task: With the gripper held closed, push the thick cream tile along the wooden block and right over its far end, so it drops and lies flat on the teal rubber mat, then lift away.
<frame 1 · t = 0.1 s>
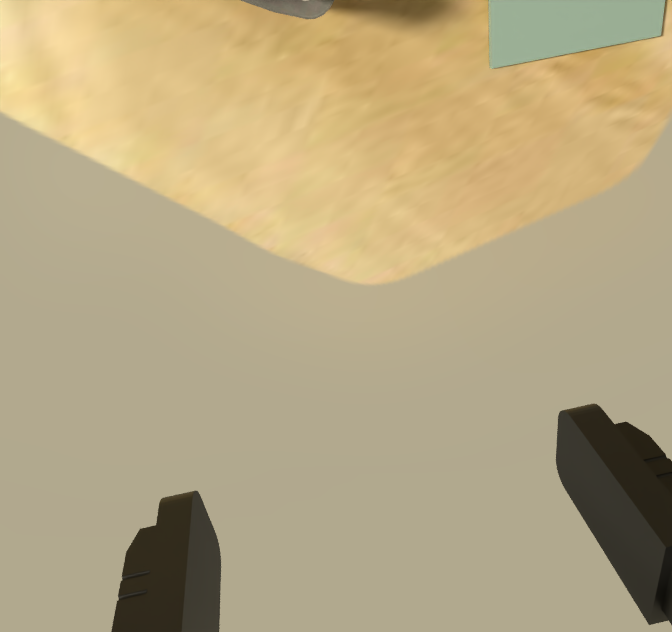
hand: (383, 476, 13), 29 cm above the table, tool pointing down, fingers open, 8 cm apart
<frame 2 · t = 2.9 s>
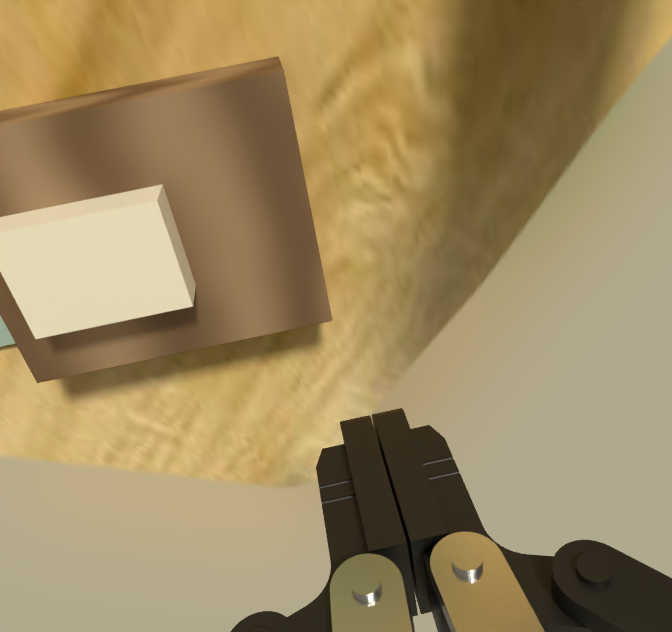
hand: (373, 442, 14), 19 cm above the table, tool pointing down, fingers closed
tile: (102, 253, 27), point 4 cm above the table, touching wooden block
wooden block: (157, 211, 30), on the table
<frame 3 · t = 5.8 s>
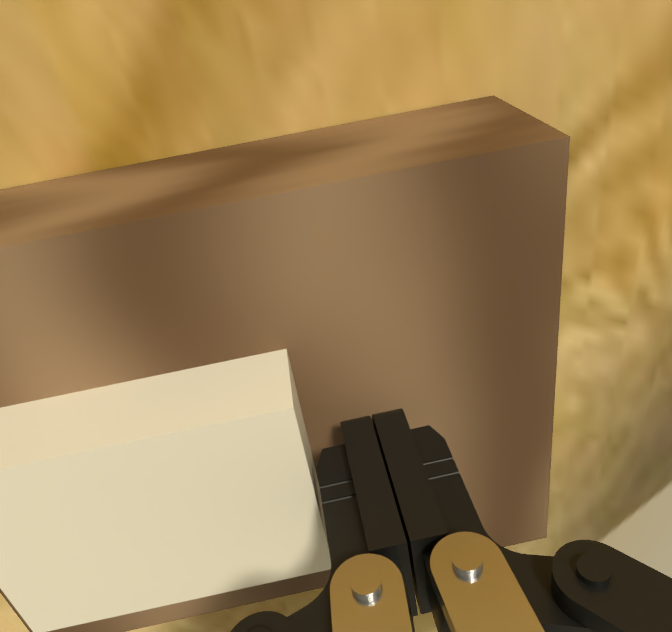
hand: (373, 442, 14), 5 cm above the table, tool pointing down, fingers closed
tile: (162, 462, 14), point 4 cm above the table, touching wooden block, gripper
wooden block: (250, 350, 18), on the table
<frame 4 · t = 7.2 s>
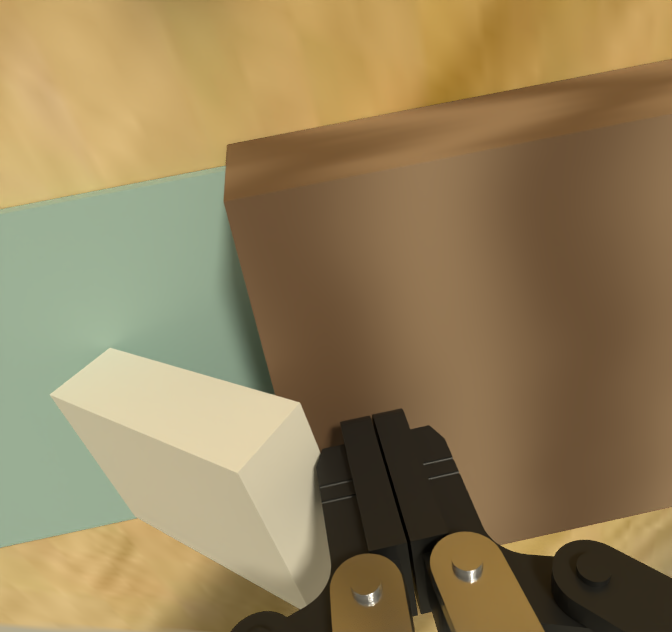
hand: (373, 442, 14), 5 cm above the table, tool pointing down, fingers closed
mat: (59, 388, 18), on the table
tile: (228, 442, 16), point 3 cm above the table, tilted 43°, touching gripper, mat
wooden block: (520, 293, 18), on the table
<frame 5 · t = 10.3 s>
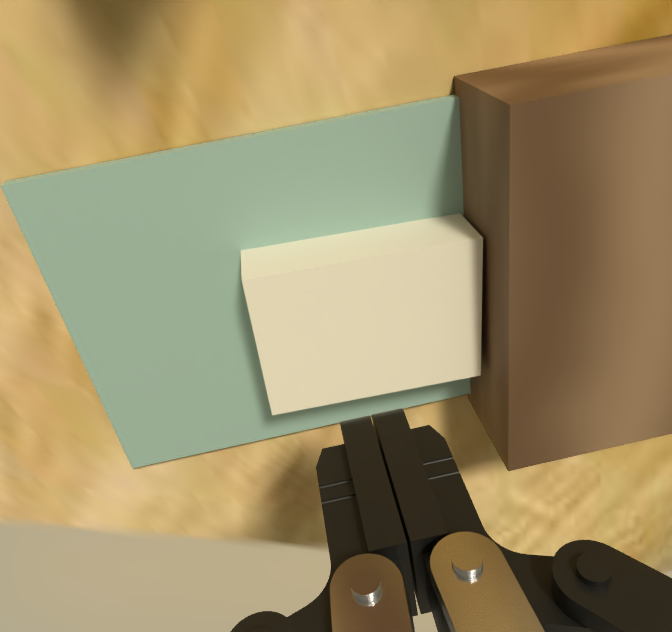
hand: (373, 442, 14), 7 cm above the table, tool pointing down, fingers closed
mat: (273, 300, 20), on the table
tile: (359, 300, 20), resting on mat
wooden block: (671, 217, 21), on the table
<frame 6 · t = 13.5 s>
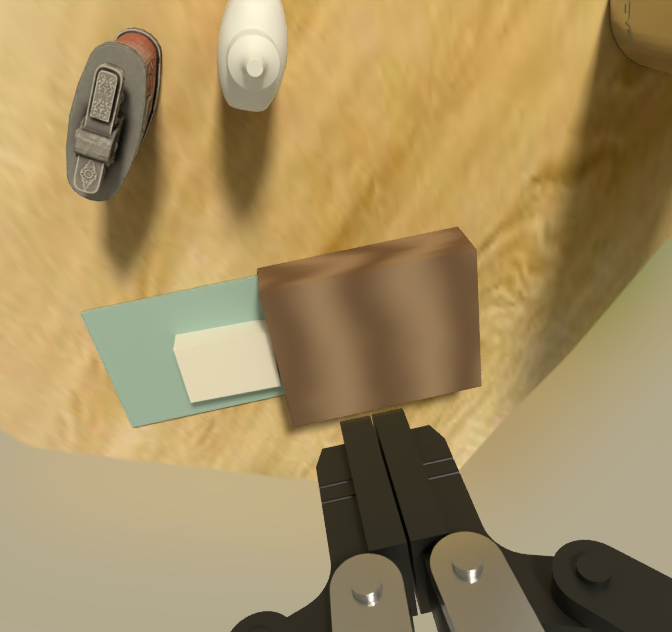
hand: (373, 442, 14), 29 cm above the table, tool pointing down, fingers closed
eye dropper bottle: (249, 36, 36), on the table
mat: (192, 353, 46), on the table
lighter: (128, 96, 36), on the table
tile: (229, 353, 46), resting on mat
wooden block: (368, 316, 47), on the table
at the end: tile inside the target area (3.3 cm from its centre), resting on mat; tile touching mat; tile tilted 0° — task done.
